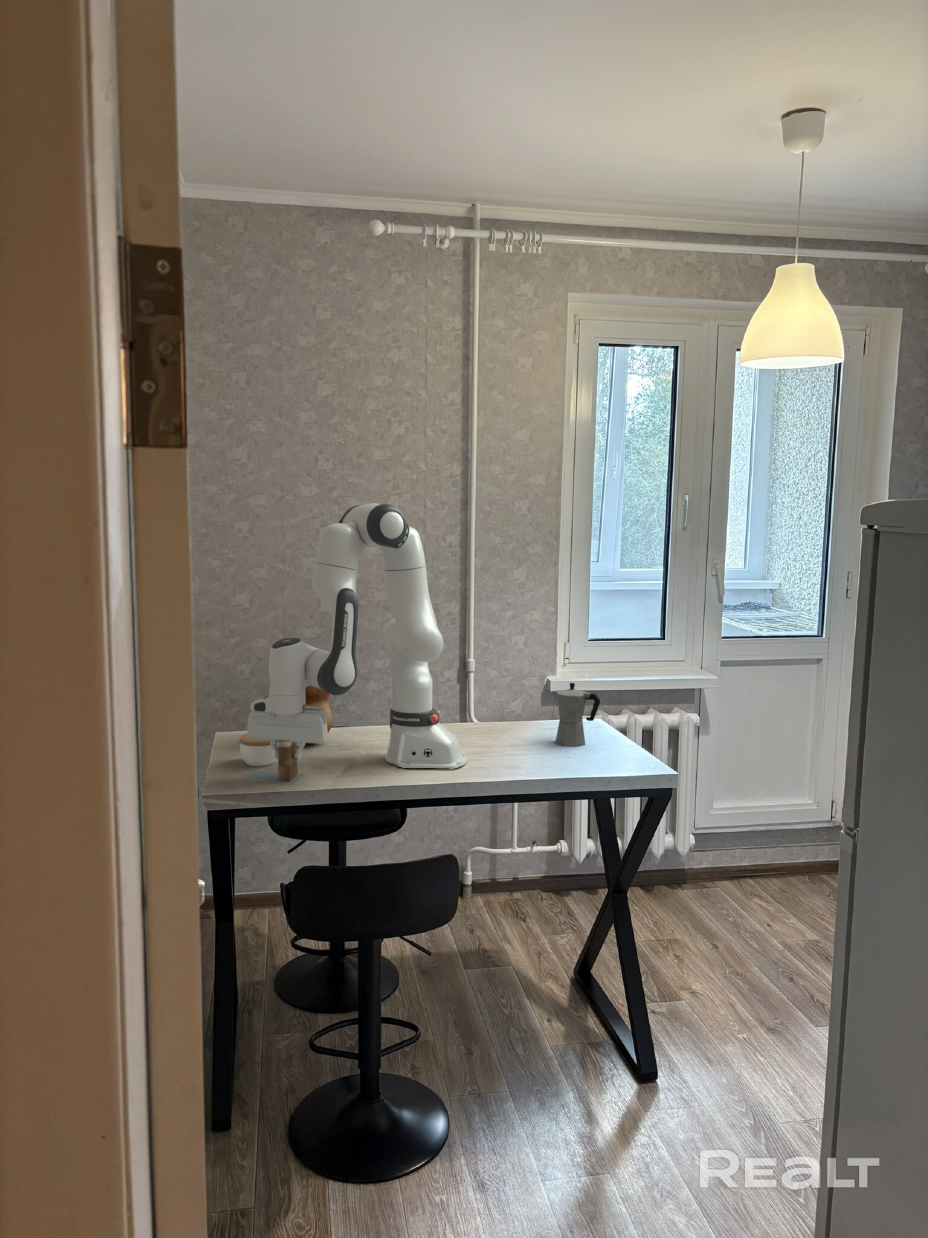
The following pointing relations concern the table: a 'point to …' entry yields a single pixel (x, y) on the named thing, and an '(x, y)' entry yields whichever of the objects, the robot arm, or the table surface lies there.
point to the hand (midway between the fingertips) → (287, 758)
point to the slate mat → (268, 777)
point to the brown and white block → (287, 761)
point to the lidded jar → (256, 751)
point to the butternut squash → (319, 702)
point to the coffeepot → (573, 715)
